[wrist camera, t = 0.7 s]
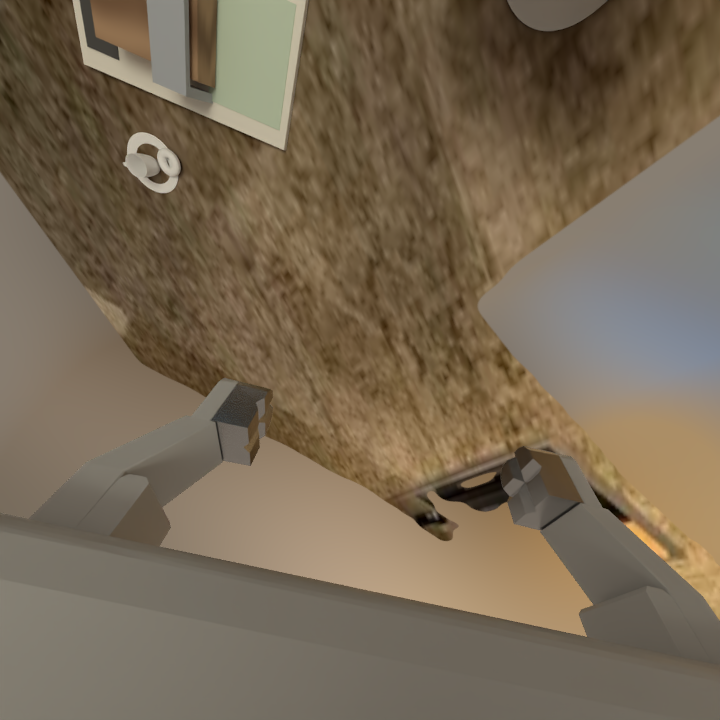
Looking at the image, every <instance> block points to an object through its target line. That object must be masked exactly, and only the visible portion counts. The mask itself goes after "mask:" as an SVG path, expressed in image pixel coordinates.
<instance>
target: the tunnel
mask: <svg viewBox="0 0 720 720" xmlns="http://www.w3.org/2000/svg"><path fill="white" fill-rule="evenodd" d="M147 13H148V26H149V39H150V52H151V65H152V78H153V82H154V83H156V84H159V85H161V86H163V87H166V88H168V89H170V90H172V91H175V92H177V93H179V94H182V95H184V96H186V97H190V98H193V99H197V100H201V101H205V102H208V103H212V104H213V101H212V94H211V93H209V92H206V91H204V90H202V89H200V88H197V87H195V86H193V85H191V84H190V55H189V0H147Z"/></svg>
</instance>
